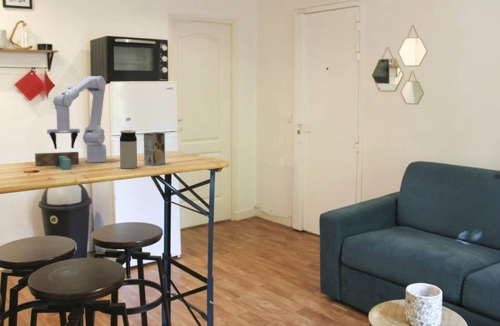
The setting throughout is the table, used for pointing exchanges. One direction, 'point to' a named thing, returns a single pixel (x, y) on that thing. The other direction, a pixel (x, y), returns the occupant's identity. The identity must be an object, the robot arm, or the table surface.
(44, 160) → the brown wooden bar
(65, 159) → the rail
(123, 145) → the travel mug
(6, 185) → the table surface
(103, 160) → the robot arm
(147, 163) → the coffee box
